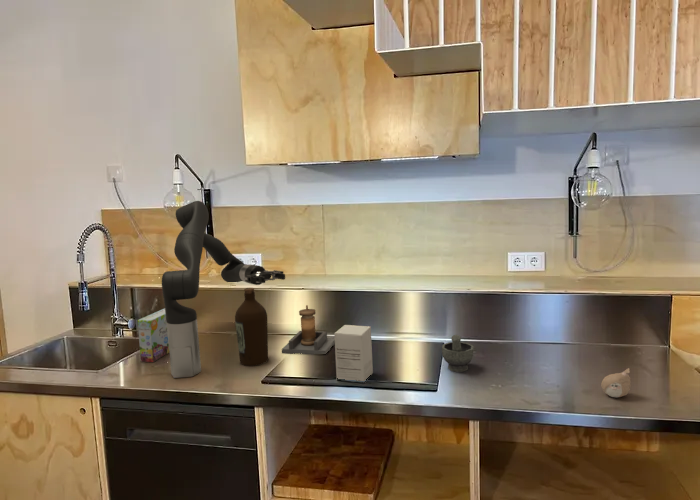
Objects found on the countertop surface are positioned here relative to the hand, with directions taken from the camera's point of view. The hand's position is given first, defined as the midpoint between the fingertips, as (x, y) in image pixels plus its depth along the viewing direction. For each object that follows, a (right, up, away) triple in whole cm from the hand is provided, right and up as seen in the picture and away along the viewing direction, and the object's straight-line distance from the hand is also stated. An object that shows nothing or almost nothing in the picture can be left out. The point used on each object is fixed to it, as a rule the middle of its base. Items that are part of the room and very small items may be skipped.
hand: (274, 278), depth 189 cm
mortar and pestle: (+61, -26, -32) cm, 74 cm away
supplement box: (+29, -28, -35) cm, 54 cm away
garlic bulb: (+98, -28, -55) cm, 116 cm away
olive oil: (-4, -27, -17) cm, 32 cm away
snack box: (-40, -27, -3) cm, 48 cm away
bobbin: (+13, -23, -6) cm, 27 cm away
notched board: (+13, -25, -5) cm, 29 cm away
